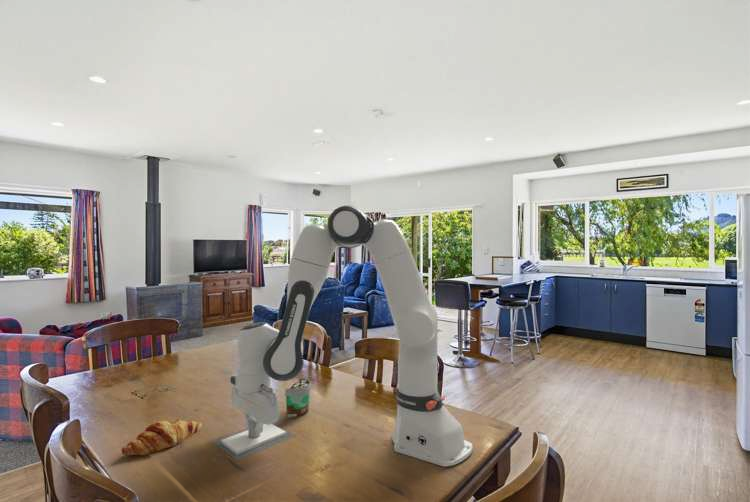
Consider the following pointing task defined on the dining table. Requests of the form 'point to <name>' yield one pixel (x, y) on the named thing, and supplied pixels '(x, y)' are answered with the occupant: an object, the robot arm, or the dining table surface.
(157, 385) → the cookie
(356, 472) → the dining table surface
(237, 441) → the lid
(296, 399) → the food container
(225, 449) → the mat
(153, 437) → the croissant
